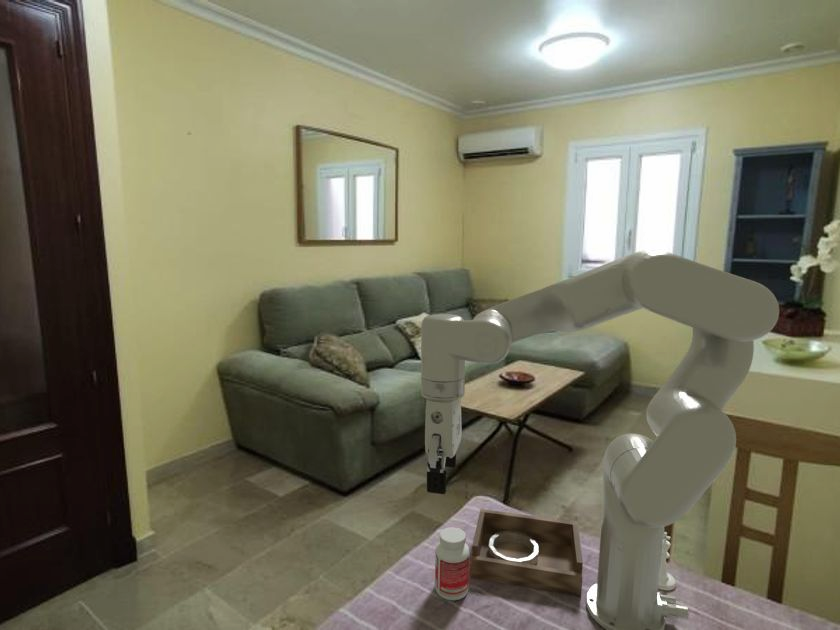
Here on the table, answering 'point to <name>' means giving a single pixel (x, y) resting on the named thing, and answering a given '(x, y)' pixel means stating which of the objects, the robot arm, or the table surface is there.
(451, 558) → the pill bottle
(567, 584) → the walled box
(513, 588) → the table surface
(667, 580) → the chess piece
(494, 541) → the collar
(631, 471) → the robot arm
